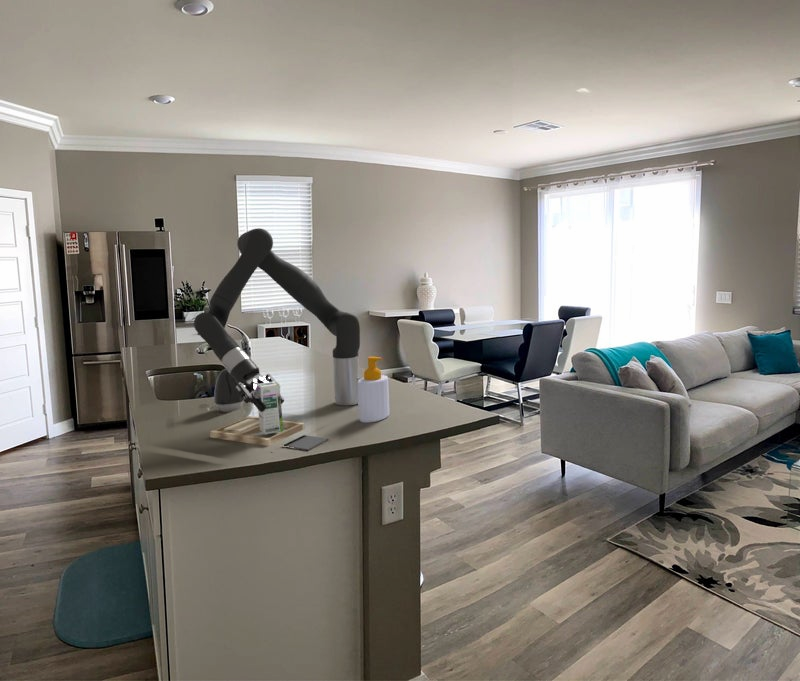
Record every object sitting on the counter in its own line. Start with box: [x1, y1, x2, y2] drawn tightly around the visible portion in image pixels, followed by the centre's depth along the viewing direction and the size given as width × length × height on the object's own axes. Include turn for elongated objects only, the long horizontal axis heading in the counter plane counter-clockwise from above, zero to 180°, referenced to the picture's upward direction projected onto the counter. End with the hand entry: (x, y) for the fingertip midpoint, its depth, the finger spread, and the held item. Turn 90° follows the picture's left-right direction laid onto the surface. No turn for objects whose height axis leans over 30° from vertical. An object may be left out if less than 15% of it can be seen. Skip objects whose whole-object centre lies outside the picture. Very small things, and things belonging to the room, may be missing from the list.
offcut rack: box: [209, 416, 306, 447], centre depth 174 cm, size 22×17×3 cm
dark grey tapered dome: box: [213, 368, 244, 413], centre depth 205 cm, size 10×10×15 cm
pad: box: [283, 434, 330, 452], centre depth 167 cm, size 10×10×1 cm
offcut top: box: [224, 419, 260, 434], centre depth 177 cm, size 6×11×2 cm, turn 155°
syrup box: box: [257, 380, 284, 435], centre depth 171 cm, size 6×6×14 cm
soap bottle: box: [357, 356, 390, 424], centre depth 189 cm, size 13×8×20 cm, turn 148°
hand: (273, 406), depth 170 cm, fingers closed on syrup box, 7 cm apart
